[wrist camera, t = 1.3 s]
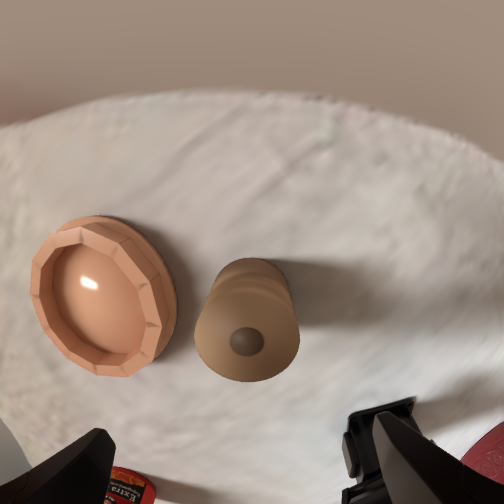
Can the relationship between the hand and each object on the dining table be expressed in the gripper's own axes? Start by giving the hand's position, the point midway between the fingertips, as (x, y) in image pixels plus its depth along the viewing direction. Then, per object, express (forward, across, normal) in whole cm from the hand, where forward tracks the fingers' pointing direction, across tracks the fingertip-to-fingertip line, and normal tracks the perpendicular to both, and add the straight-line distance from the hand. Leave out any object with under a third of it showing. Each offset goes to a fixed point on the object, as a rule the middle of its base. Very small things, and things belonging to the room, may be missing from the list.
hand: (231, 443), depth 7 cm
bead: (+12, 0, 0) cm, 12 cm away
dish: (+12, +11, -1) cm, 16 cm away
